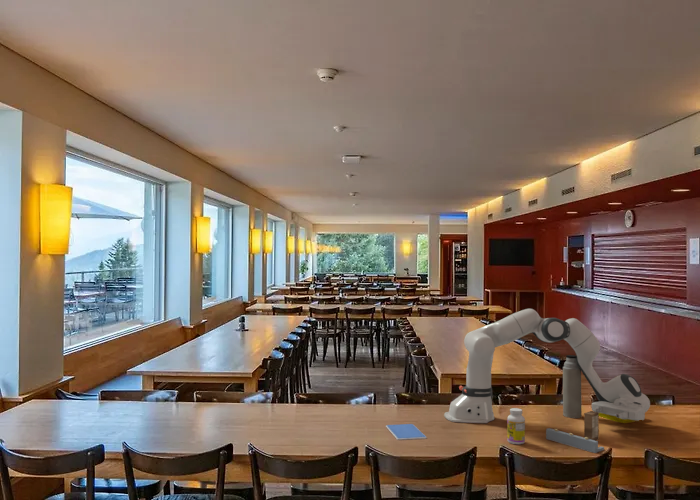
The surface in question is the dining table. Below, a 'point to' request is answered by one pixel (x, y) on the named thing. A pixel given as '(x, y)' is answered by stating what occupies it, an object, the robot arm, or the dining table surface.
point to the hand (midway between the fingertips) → (607, 413)
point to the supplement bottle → (516, 427)
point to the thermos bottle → (571, 388)
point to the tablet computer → (405, 432)
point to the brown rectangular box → (591, 425)
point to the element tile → (615, 418)
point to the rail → (573, 440)
